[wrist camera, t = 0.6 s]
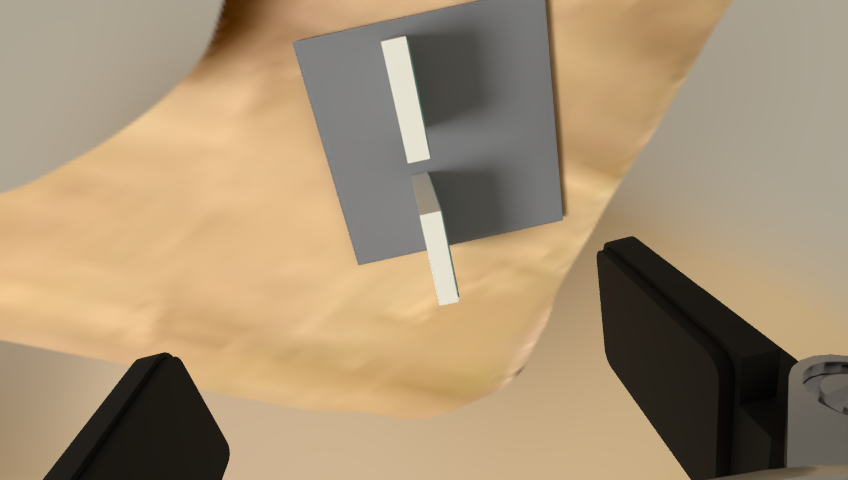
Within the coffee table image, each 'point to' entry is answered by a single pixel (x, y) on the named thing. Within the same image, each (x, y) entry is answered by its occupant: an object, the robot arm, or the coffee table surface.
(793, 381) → the robot arm
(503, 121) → the mat
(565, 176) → the coffee table surface
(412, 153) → the tile
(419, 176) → the tile
